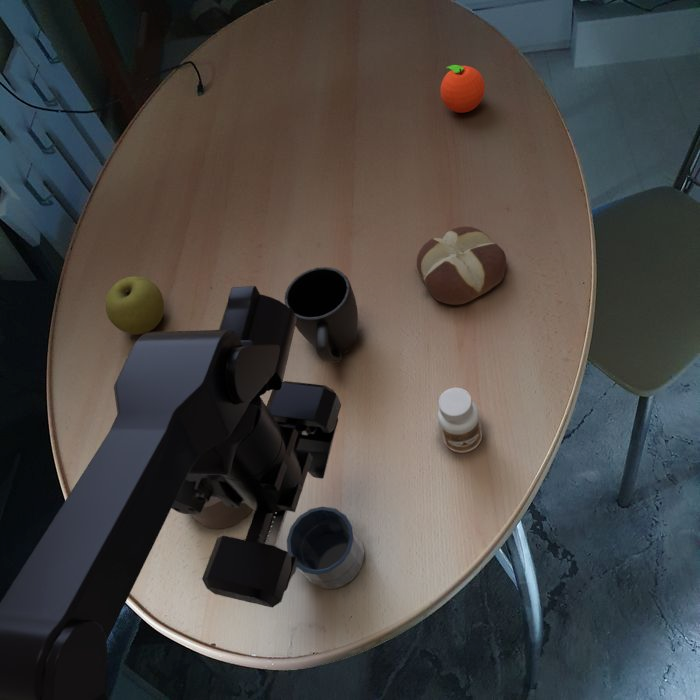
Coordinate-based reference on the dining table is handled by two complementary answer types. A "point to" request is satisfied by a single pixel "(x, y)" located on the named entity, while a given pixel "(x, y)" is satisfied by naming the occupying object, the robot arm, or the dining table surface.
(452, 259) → the bread
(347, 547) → the blue cup
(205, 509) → the stand
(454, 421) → the pill bottle
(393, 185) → the dining table surface
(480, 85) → the clementine
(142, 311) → the apple
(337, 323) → the mug
